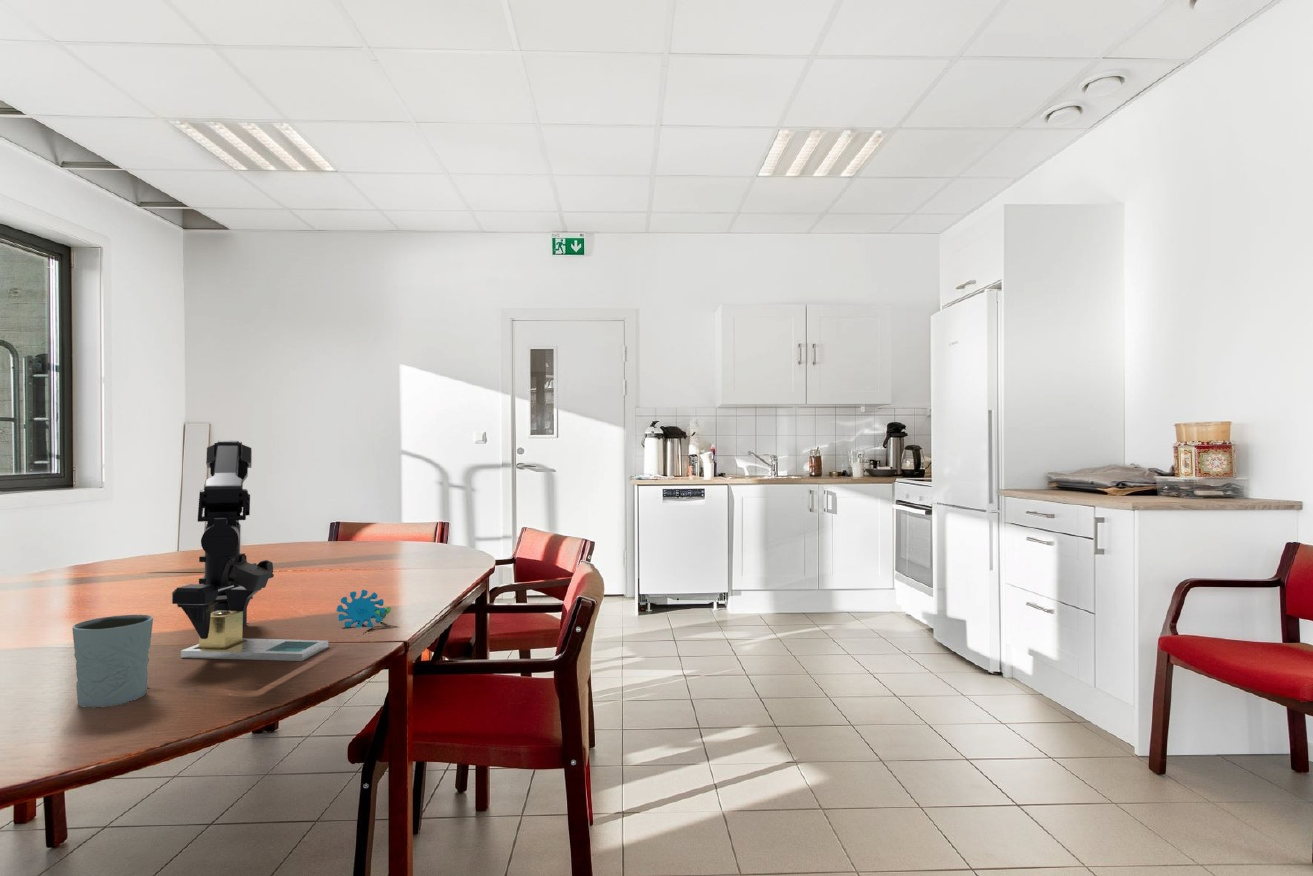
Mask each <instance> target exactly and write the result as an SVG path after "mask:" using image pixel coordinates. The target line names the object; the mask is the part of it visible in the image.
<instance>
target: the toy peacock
mask: <svg viewBox="0 0 1313 876" xmlns="http://www.w3.org/2000/svg"><path fill="white" fill-rule="evenodd" d="M367 596H368V590H366V589H361V592H360V596H359V597H358V598H356V597H357V591H350V592H349V597H350V598H351V601H350V602H348V597H347V596H343V597H341V598H340V603H341V604H343V605H345V606H346V607H347V608H344V607H343V605H341V604H339V605H337V607H336V609H335V611H336V612H337V613H339V614H338V616H337V620H338V622H342V621H344V620H347V621H345V622H344V627H345V628H347V629H348V628H351V627H352V625H354V624H356V623H357V624H356V625H355V626H354V628H355V629H357V628H362V625H363V624H364V623H366V622H367V623H366V628H372V627H373V628H374V623H373V621H372V619H373V620H374V619H375V623H376V624H379V623H380V622H381V621H383V622H384V619H385V618H386V617H387V615H389V614H390V613H391V611H392V610H391V609H392V608H391V606H387V607H383V606H384V603H385V600H384V599H383V598H380V599H378V594H377V593H376V592H372V593H371V595H369V596H368V597H367ZM377 599H378V600H377ZM378 606H379V607H378ZM343 613H344V614H343ZM345 614H346V615H345ZM350 620H351V621H350ZM358 623H359V624H358ZM380 624H381V623H380Z"/></svg>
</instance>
